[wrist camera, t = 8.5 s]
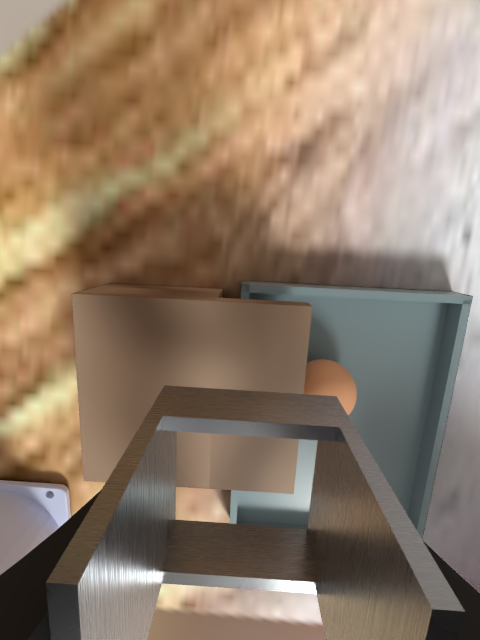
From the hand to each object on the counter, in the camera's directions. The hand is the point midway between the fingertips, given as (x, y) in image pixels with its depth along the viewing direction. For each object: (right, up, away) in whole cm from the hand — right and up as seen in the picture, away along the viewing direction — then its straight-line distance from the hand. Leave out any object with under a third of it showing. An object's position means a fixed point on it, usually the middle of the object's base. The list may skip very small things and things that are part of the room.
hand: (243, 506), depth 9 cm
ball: (+4, +2, +7) cm, 9 cm away
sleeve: (0, 0, +2) cm, 2 cm away
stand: (-3, +2, +10) cm, 10 cm away
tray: (+5, 0, +10) cm, 11 cm away
